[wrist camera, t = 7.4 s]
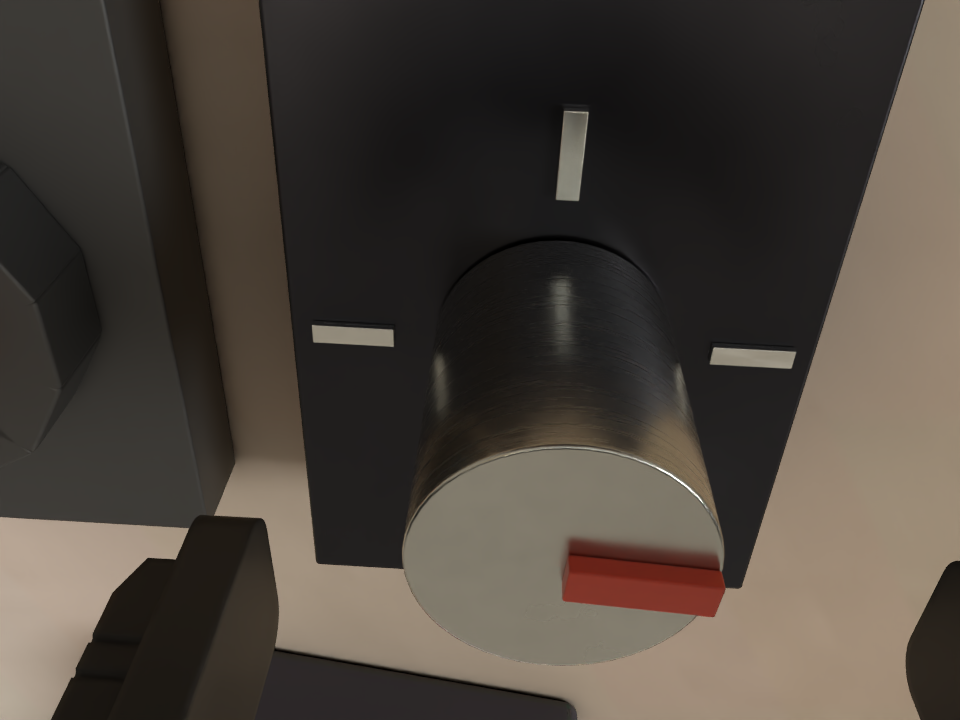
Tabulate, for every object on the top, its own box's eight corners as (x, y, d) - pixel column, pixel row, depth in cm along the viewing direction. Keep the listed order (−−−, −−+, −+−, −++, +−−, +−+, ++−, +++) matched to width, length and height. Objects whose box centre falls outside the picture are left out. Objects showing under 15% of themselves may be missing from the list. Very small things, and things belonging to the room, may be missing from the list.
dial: (427, 421, 16) (390, 669, 12) (445, 224, 14) (408, 445, 10) (642, 444, 16) (685, 700, 12) (696, 254, 14) (772, 485, 10)
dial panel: (299, -87, 14) (248, -48, 12) (861, -60, 14) (937, -14, 11) (340, 469, 21) (313, 570, 18) (716, 491, 21) (743, 596, 18)
